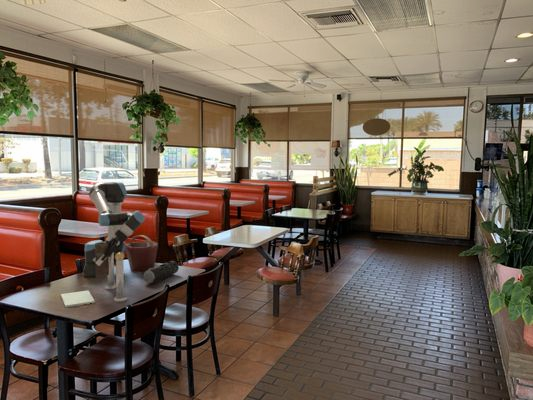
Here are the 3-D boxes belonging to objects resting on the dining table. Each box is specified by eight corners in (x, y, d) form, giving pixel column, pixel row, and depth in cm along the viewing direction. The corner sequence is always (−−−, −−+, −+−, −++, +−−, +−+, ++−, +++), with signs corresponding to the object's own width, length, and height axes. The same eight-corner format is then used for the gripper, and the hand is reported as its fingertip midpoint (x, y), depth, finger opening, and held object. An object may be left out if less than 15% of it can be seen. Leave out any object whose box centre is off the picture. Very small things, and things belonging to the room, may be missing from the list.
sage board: (65, 307, 229) (65, 305, 229) (60, 296, 247) (60, 294, 247) (94, 303, 237) (94, 300, 237) (88, 292, 255) (88, 290, 255)
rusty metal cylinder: (98, 274, 251) (97, 241, 249) (110, 274, 252) (109, 241, 250) (94, 278, 244) (93, 244, 242) (107, 278, 244) (106, 244, 242)
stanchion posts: (115, 302, 237) (114, 254, 235) (103, 287, 265) (102, 243, 262) (128, 300, 241) (127, 252, 238) (115, 285, 269) (114, 242, 266)
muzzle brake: (179, 275, 295) (179, 261, 294) (154, 286, 269) (154, 270, 268) (167, 273, 299) (167, 259, 298) (142, 284, 273) (142, 268, 272)
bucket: (122, 267, 313) (122, 234, 310) (151, 263, 326) (150, 231, 324) (134, 275, 293) (134, 240, 291) (164, 270, 307) (164, 236, 304)
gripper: (132, 239, 245) (104, 270, 238) (124, 234, 262) (97, 263, 255) (123, 231, 242) (94, 262, 235) (115, 226, 259) (87, 255, 252)
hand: (95, 262), depth 245 cm, fingers closed on rusty metal cylinder, 7 cm apart
